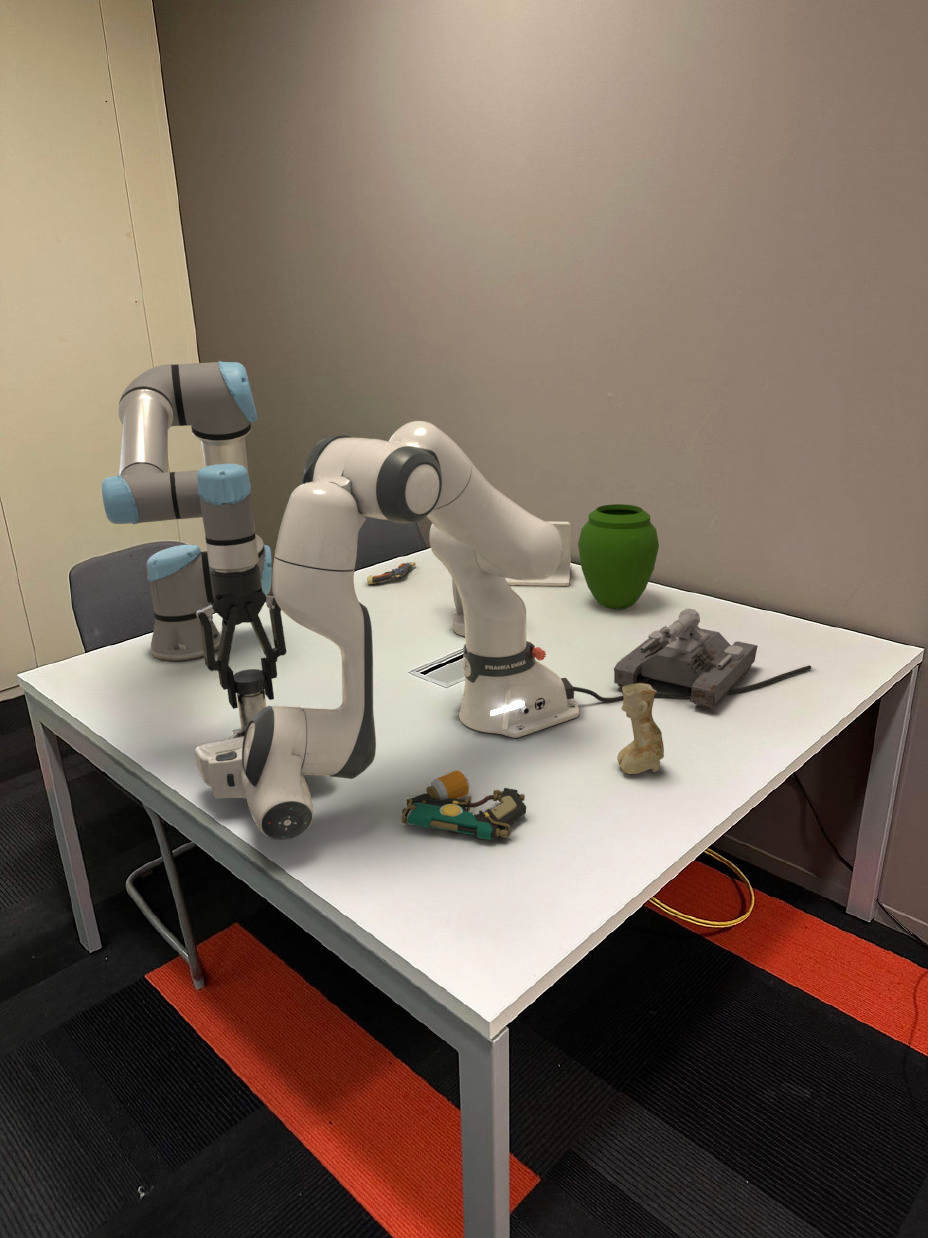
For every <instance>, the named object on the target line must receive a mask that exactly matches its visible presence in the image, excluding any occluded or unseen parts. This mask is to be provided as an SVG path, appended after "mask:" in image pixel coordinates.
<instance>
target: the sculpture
mask: <svg viewBox="0 0 928 1238" xmlns="http://www.w3.org/2000/svg"><path fill="white" fill-rule="evenodd" d="M621 690H622V693H623V695H624V700H622V701H623V702H622V705H621V709H620V710H621V711H623V712H625V714H626V717H627V718H628V719H630V722H631V727H632V734H633V740H632V741H631V742H630V743H628V744H627V745H626V746H624V747H623V748H622V749H620V750H619V751H618V753H617V757H616V760H617V764H618V766H620V769H621V771H622V772H624V773H626V774H627V775H638V774H641V773H644V772H646V771H648V770H651V771H652V772H654V773H656V772H659V771H660V769H661V762H660V761H661V760H663V758H664V757H665V754H664V753H665V747H664V746H665V745H664V741H663V734H662V730H661V728H660V727H659V726H658V724H657V723H656V722H655V720H654V718H653V717H654V716H653V706H654V702H655V697H656V696H655V694H656V692H657V690H656V689H654V688H653V687H652V685H651V684H650V683H637V684H630V685H626V686H623V687H621Z"/></svg>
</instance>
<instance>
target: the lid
mask: <svg viewBox="0 0 928 1238" xmlns="http://www.w3.org/2000/svg"><path fill="white" fill-rule="evenodd" d="M233 675H234V682H235V690H236V695H237V694H242V695H249V694H255V693H258V692H261V691H263V690H264V689H265V688H266V686H267V681H266V676H265V672H264V671H262V669H257V668H249V669H242V670H240V671H237V672H235V673H233ZM264 691H265V690H264Z"/></svg>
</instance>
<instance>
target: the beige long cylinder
mask: <svg viewBox="0 0 928 1238" xmlns="http://www.w3.org/2000/svg"><path fill="white" fill-rule="evenodd" d="M236 697H237V705H238V714H239V722H240V729H242V732H243V736H244V735H245V731H246V728H247V726H248V724H249V723H250V721H251V720H252V719H253V718H254V717H255V716H256V715H257V714H258V713H259V712H260V711H261V710H262V709H264V708H266V707H267V700H266V695H265V690H263V691H261V692H258V693H255V694H249V695H242V694H237V693H236Z"/></svg>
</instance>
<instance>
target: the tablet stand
mask: <svg viewBox="0 0 928 1238" xmlns="http://www.w3.org/2000/svg"><path fill="white" fill-rule="evenodd" d="M547 522H548V523H550V524H552V525H554V526H555V527H556V528H557V529H558V531H559V533H560V535H561V538H562V542H563V555H562V559H561V562H560V564H559V566H558V568H557V569H556V571H555V572H554V573H553V574H552V575H551V576H550V577H548V578H547V579H544V580H515V579H510V578H505V579H506V581H507V583H508V585H509V586H541V587H542V586H543V587H544V586H545V587H546V586H547V587H549V586H551V587H556V586H557V587H569V586H570V580H571V579H570V578H571V565H572V564H571V560H572V558H571V522H569V521H547Z"/></svg>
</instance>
